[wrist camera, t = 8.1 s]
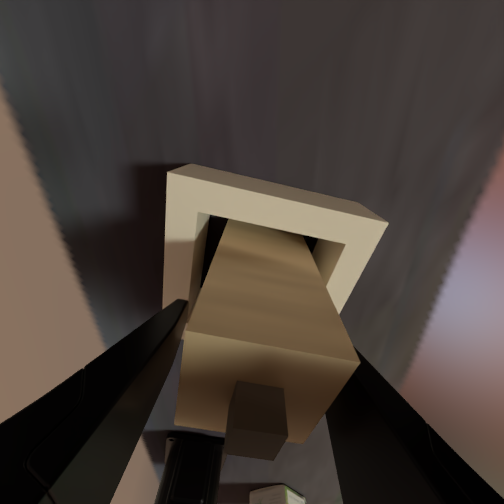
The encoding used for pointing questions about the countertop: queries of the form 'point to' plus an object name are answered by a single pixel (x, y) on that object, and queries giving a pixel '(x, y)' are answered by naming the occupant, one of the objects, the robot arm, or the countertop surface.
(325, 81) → the countertop surface
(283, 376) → the wooden peg
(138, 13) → the countertop surface
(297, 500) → the syrup box
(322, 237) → the cream square ring
